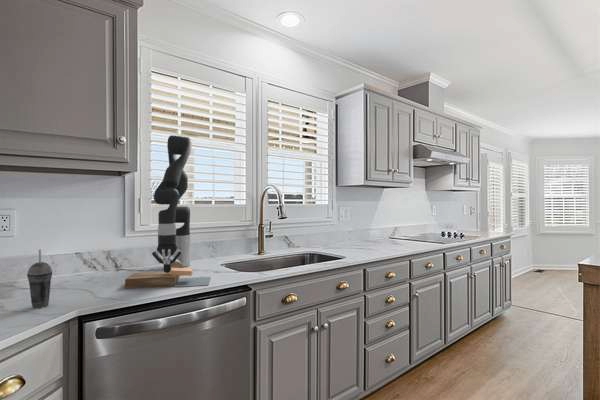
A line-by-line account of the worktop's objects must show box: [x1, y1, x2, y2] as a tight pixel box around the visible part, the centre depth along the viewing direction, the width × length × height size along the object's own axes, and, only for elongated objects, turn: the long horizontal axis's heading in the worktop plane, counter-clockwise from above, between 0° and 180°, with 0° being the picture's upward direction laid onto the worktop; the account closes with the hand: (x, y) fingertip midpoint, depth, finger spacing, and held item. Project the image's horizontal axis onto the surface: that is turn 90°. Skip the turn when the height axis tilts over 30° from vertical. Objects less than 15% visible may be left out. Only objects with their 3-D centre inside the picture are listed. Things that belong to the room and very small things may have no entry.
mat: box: [173, 276, 211, 288], centre depth 157 cm, size 16×14×1 cm
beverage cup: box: [26, 249, 53, 309], centre depth 123 cm, size 7×7×20 cm
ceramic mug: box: [171, 257, 184, 269], centre depth 175 cm, size 11×8×8 cm
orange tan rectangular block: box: [170, 267, 194, 277], centre depth 157 cm, size 6×9×2 cm, turn 103°
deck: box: [124, 271, 180, 290], centre depth 154 cm, size 12×20×4 cm, turn 101°
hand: (167, 272), depth 155 cm, fingers closed
